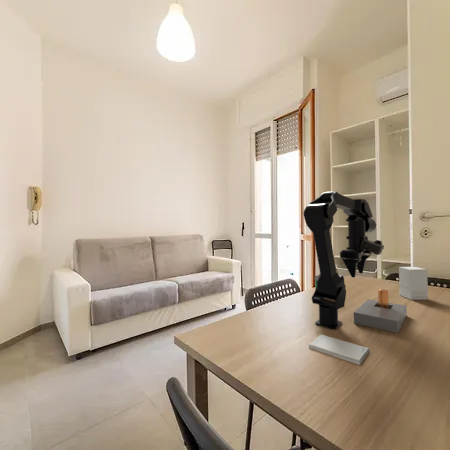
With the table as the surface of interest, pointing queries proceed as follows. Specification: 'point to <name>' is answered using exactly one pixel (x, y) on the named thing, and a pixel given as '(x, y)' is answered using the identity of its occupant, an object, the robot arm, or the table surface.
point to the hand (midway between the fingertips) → (357, 275)
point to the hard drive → (340, 349)
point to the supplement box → (413, 283)
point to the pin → (383, 298)
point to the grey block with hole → (381, 315)
